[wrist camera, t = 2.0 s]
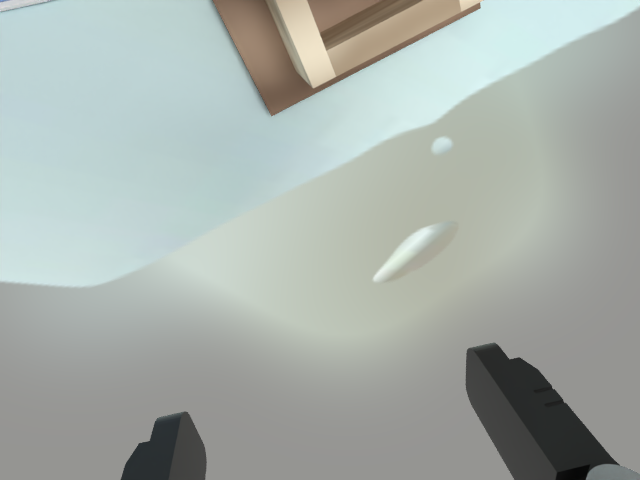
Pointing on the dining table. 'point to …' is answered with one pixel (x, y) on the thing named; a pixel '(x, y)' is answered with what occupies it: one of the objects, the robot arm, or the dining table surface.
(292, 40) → the wooden open box
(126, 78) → the dining table surface
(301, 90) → the post stand
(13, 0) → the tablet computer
